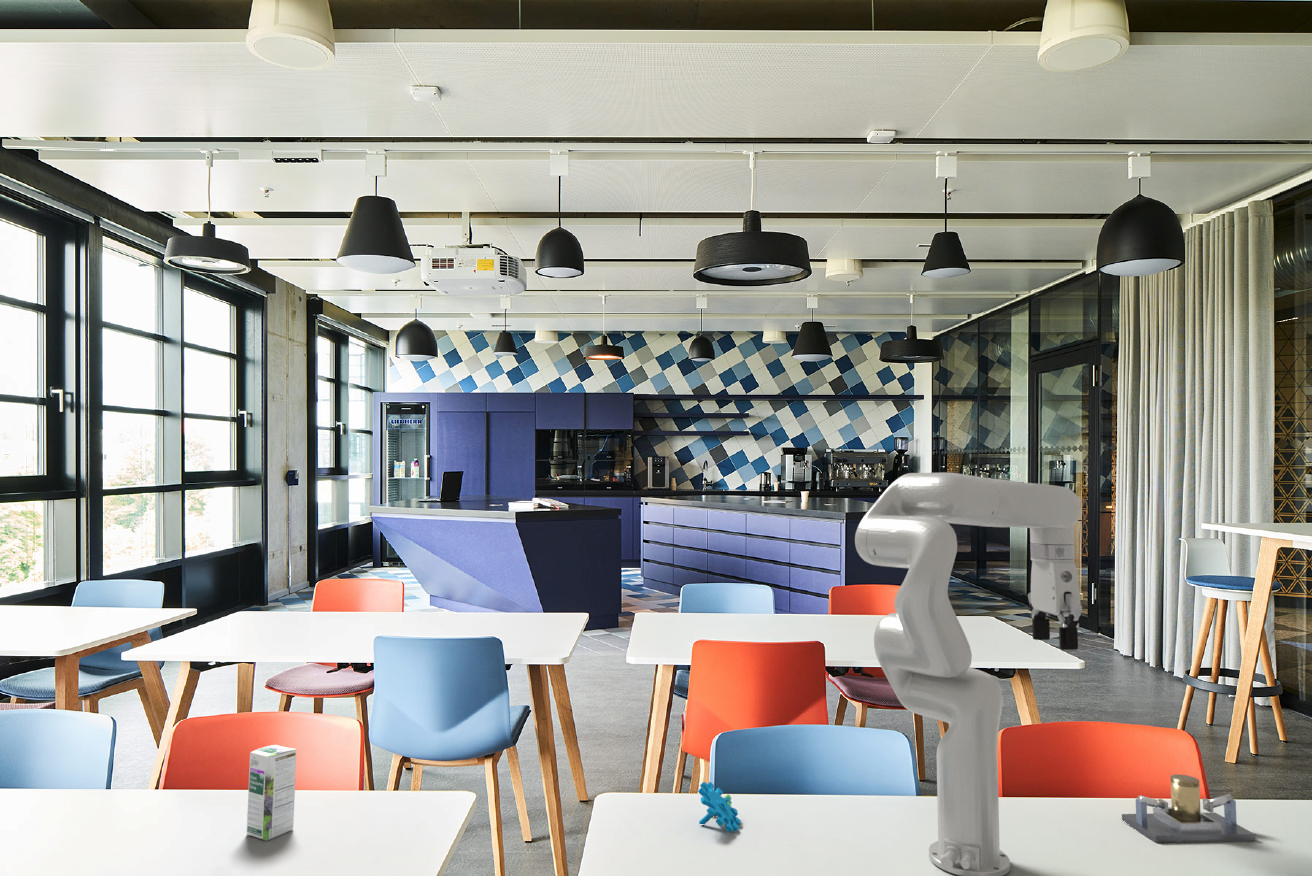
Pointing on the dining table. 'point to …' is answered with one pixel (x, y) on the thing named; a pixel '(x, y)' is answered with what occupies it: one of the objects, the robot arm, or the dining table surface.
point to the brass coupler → (1185, 798)
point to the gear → (718, 807)
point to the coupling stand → (1173, 831)
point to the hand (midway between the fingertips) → (1054, 644)
